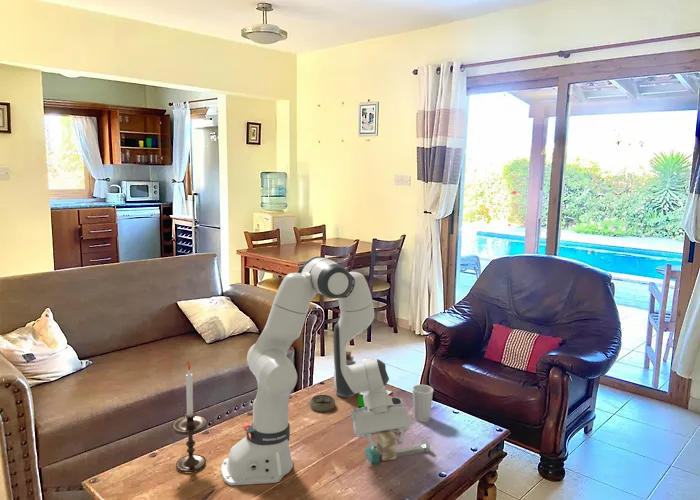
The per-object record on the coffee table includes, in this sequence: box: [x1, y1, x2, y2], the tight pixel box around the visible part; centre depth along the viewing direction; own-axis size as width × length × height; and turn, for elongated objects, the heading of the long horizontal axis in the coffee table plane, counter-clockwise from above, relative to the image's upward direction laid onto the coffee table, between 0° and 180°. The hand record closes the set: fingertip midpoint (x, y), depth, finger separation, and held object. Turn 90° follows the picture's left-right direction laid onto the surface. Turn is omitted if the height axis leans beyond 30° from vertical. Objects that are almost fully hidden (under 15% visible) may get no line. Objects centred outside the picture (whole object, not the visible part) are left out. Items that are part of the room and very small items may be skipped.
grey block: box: [336, 351, 357, 398], centre depth 220 cm, size 7×7×18 cm
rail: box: [364, 438, 431, 466], centre depth 175 cm, size 22×6×3 cm, turn 110°
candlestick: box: [171, 359, 209, 473], centre depth 163 cm, size 11×11×35 cm
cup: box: [412, 384, 434, 423], centre depth 201 cm, size 8×8×12 cm
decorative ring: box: [309, 394, 336, 413], centre depth 208 cm, size 10×3×10 cm
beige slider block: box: [376, 430, 398, 462], centre depth 173 cm, size 5×5×8 cm
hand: (387, 445), depth 173 cm, fingers open, 8 cm apart
